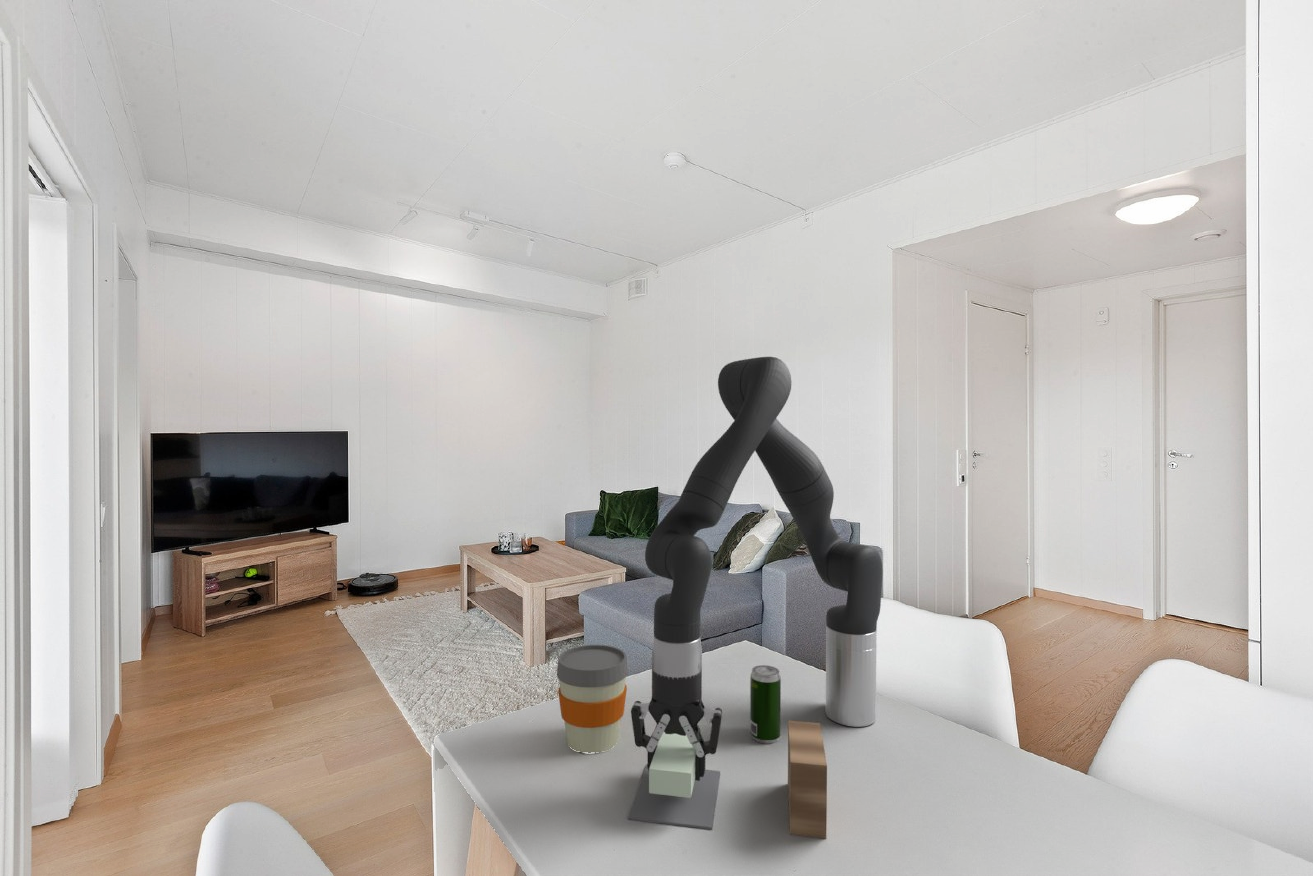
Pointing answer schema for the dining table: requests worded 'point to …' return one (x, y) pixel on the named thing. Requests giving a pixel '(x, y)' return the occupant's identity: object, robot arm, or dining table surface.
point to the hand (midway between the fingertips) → (676, 775)
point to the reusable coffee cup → (592, 695)
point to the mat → (678, 803)
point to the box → (807, 780)
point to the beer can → (765, 704)
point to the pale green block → (673, 767)
